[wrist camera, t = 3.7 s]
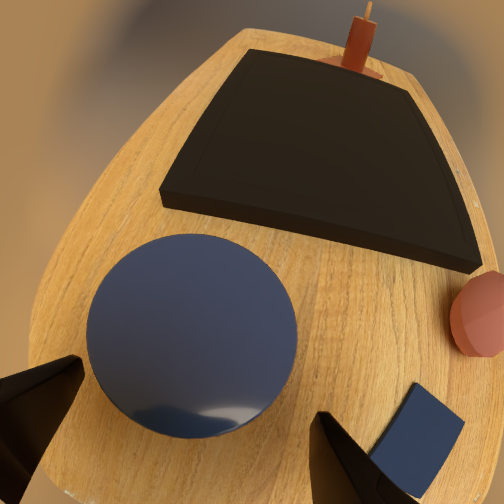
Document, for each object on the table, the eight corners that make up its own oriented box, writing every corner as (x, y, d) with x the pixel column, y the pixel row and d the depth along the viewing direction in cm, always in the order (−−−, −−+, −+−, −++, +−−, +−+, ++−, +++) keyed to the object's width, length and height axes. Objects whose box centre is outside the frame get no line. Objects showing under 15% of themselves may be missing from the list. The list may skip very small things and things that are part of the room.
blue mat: (416, 497, 12) (420, 499, 11) (358, 466, 14) (361, 467, 13) (461, 422, 15) (465, 422, 15) (413, 383, 17) (417, 382, 17)
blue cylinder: (215, 425, 15) (190, 482, 4) (159, 372, 17) (53, 318, 6) (266, 372, 18) (340, 321, 6) (211, 323, 19) (192, 201, 8)
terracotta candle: (357, 73, 46) (378, 4, 30) (337, 63, 47) (354, -4, 32) (365, 70, 48) (385, 7, 33) (346, 61, 50) (363, -1, 34)
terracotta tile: (365, 84, 44) (365, 82, 44) (316, 62, 47) (316, 59, 47) (382, 77, 49) (383, 75, 49) (339, 57, 52) (340, 55, 52)
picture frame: (163, 207, 24) (469, 274, 23) (158, 189, 22) (482, 264, 21) (248, 58, 44) (404, 100, 44) (249, 48, 42) (408, 91, 42)
